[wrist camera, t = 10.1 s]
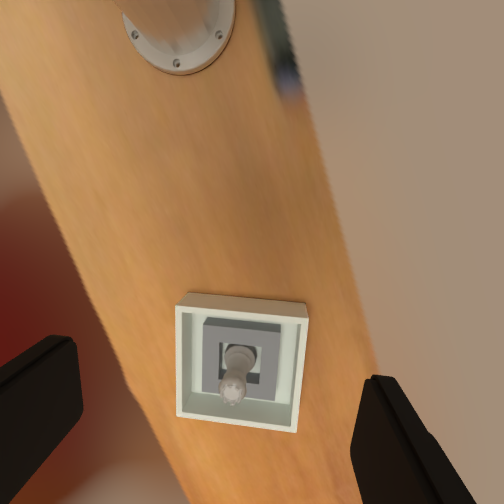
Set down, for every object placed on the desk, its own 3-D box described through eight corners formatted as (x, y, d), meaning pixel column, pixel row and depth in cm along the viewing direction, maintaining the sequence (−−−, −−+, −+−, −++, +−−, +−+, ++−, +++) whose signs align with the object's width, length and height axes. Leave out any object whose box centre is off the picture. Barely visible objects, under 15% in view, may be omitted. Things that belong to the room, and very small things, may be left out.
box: (188, 292, 36) (175, 305, 31) (305, 303, 34) (308, 318, 30) (187, 391, 39) (176, 416, 35) (294, 405, 38) (296, 432, 33)
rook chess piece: (264, 355, 36) (259, 399, 28) (240, 372, 37) (229, 420, 29) (242, 332, 35) (232, 370, 28) (219, 349, 36) (202, 391, 28)
